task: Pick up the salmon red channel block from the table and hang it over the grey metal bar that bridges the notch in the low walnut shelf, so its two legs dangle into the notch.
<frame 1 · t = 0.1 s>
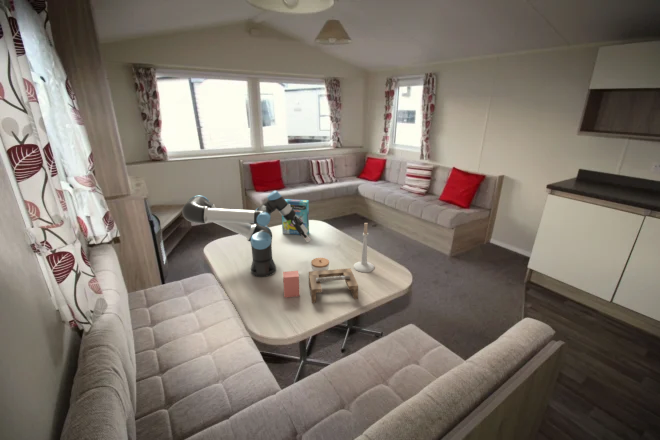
hand: (308, 236, 198), 15 cm above the table, tool tilted 35°, fingers open, 13 cm apart
lidded jar: (320, 273, 185), on the table
salmon red channel block: (291, 293, 164), on the table
game box: (295, 233, 242), on the table
candlestick: (363, 267, 192), on the table
shelf: (332, 293, 165), on the table
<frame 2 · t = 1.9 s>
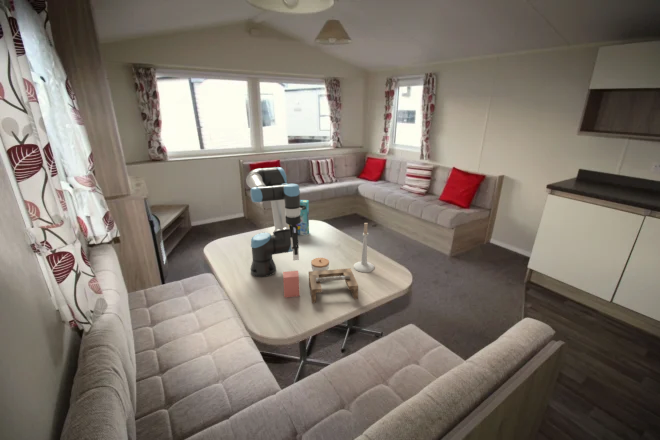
hand: (294, 254, 158), 22 cm above the table, tool pointing down, fingers open, 13 cm apart
nothing on the table moved.
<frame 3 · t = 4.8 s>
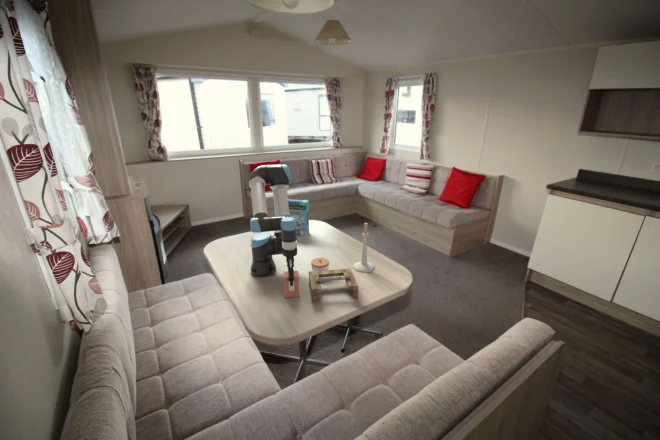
hand: (291, 286, 163), 4 cm above the table, tool pointing down, fingers closed on salmon red channel block, 6 cm apart
salmon red channel block: (291, 293, 164), on the table, touching gripper
everything else where it was.
when the fingers open (9 cm above the table, at t = 10.6 s): salmon red channel block drops 1 cm, resting on shelf.
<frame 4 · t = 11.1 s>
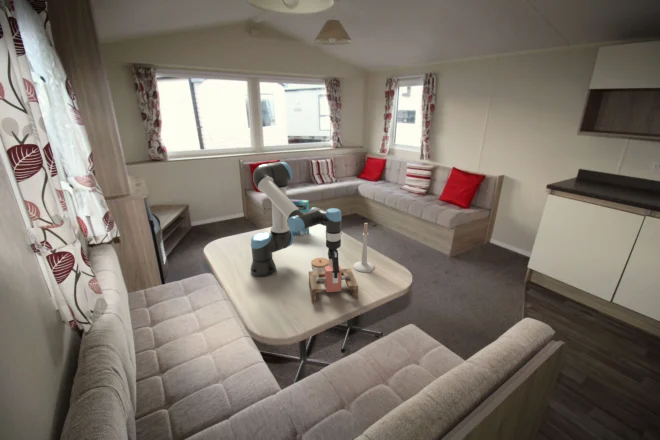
hand: (333, 275, 161), 11 cm above the table, tool pointing down, fingers open, 13 cm apart
salmon red channel block: (333, 288, 163), point 3 cm above the table, touching shelf
everything else where it was.
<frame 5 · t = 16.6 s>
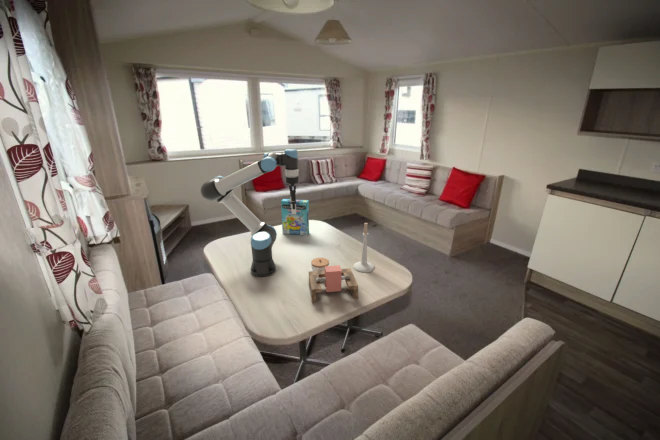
hand: (293, 210, 187), 35 cm above the table, tool pointing down, fingers open, 13 cm apart
nothing on the table moved.
at the end: salmon red channel block 0.0 cm off-centre on the shelf, point 3.0 cm above the shelf's base; salmon red channel block tilted 0°; the gripper is holding nothing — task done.
